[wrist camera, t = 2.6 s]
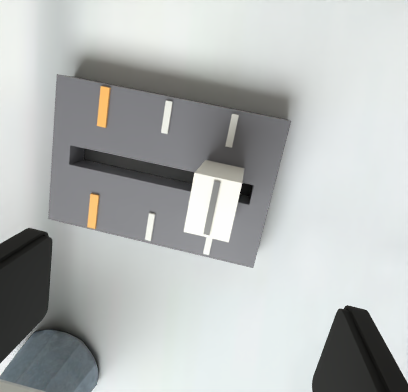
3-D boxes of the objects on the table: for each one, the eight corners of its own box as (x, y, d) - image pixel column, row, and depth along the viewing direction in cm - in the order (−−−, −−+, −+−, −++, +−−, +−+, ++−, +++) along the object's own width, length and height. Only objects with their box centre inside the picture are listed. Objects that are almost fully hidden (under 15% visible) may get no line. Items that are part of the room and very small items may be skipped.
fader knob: (234, 210, 28) (228, 243, 22) (199, 202, 28) (183, 232, 22) (245, 164, 27) (242, 183, 20) (208, 156, 27) (194, 173, 21)
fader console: (253, 254, 30) (253, 269, 28) (63, 210, 32) (47, 219, 29) (287, 119, 27) (291, 121, 24) (73, 76, 28) (55, 74, 26)
